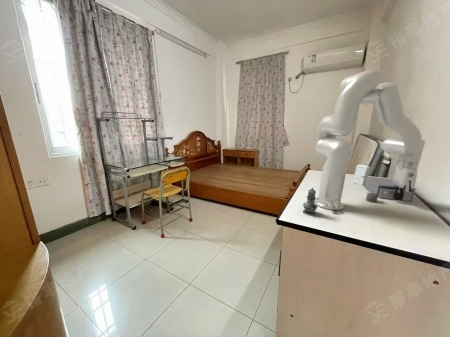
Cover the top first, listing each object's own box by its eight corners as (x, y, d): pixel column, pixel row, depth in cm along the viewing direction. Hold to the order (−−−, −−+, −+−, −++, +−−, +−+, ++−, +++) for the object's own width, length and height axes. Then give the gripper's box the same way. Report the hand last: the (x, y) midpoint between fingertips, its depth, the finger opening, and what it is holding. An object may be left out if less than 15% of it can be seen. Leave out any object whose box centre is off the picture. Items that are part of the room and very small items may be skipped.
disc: (394, 190, 103) (395, 188, 103) (401, 195, 97) (402, 192, 96) (379, 189, 105) (379, 186, 105) (385, 193, 99) (386, 191, 98)
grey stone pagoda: (304, 208, 87) (307, 184, 84) (317, 212, 83) (321, 187, 80) (300, 213, 82) (303, 187, 79) (314, 217, 79) (318, 191, 76)
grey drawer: (410, 201, 94) (413, 192, 93) (379, 197, 98) (381, 189, 97) (393, 190, 109) (395, 182, 108) (367, 187, 113) (369, 180, 111)
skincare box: (352, 182, 123) (356, 165, 119) (356, 181, 125) (359, 164, 122) (362, 185, 117) (366, 167, 114) (366, 184, 119) (370, 166, 116)
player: (411, 201, 95) (415, 188, 93) (375, 197, 100) (378, 185, 98) (394, 190, 110) (397, 179, 108) (364, 187, 114) (366, 176, 113)
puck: (378, 203, 93) (379, 196, 92) (367, 201, 94) (369, 195, 93) (374, 199, 97) (375, 193, 96) (364, 198, 98) (365, 192, 97)
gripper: (427, 168, 81) (415, 207, 86) (408, 162, 95) (398, 195, 100) (406, 167, 84) (395, 204, 88) (390, 160, 97) (381, 193, 102)
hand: (397, 199), depth 94 cm, fingers closed
